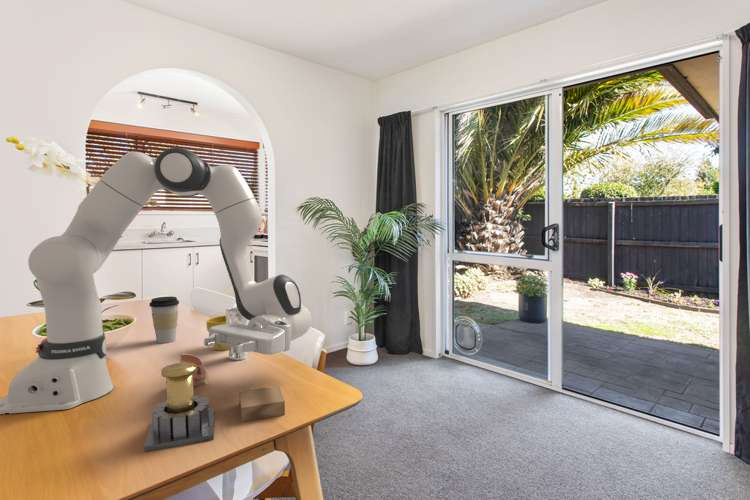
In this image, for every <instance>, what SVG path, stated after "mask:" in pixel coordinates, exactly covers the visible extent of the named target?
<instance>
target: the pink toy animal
mask: <svg viewBox="0 0 750 500" xmlns="http://www.w3.org/2000/svg"><path fill="white" fill-rule="evenodd" d="M183 362H189V363H194V364H196V365H197V370H196V372H194V373H193V387H195V386H196V387H197V386H202V385H208V383H209V372H208V371H206V368H205V366H204V365H203V362H202V360H201V359H200V358H199V357H198V356H196V355H194V354H192V353H191V354H190V353H181V355H180V359H179V362H178V363H183Z"/></svg>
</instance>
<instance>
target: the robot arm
mask: <svg viewBox="0 0 750 500" xmlns="http://www.w3.org/2000/svg"><path fill="white" fill-rule="evenodd" d="M160 190H163V191H165V192H169V193H172V194H174V195H176V196H177V195H178V196H180V197H188V198H189V197H195V196H197V195H202V196H203V197H205V199H206V200H207V201H208V203H209V205H210V206H211V209H212V211H213V213H214V215H215V218H216V220H217V223H218V226H219V233H220V238H219V247H220V252H221V256H222V259H223V261H224V264H225V267H226V271H227V274H228V276H229V279H230V282H231V286H232V288H233V292H234V299H235V304H236V307H237V308H238V311H239V312H240V314H241V315H242V316H243V317H245V318H246V319H248V320H250V321H249V323H248V325H242V324H237V323H229V324H223V325H218V326H213V327H211V328H210V329H209V332H208V337H204V339H203V345H204V346H205V347H209V348H210V347H214V346H213V345H215V343H217V344H222V345H226V346H230V347H233V348H234V350H233V352H235V353H242V352H249V353H250V352H251V353H252V352H253V353H256V354H257V353H258V354H262V355H269V356H270V355H275V354H279V353H281V352H288V351H290V349H291V344H292V343H291V342H293V341H295V340H297V339H299V338H301V337H303V335H305V334H307V333H308V331H309V330H310V328H311V326H312V323H313V318H312V313H311V312H310V310H309V309H308V308H307V307H306V306H305V305H304V304H303V303H302V300H301V298H302V297H301V292H300V289H299V286H298V285H297V284H296V282H295V281H294V280H293V278H291V277H289V276H288V275H285V274H278V275H276V276H273V277H269V278H266V279H265V280H262V281H260V282H257V281H255V279H254V276H253V275H252V271H251V268H250V265H249V262H248V259H247V255H246V254H247V248H248V246H249V243H250V242H251V241H252V239H253V238H254V237H255V235H256V234H257V233H258V232H259V230H260V227H261V225H262V221H263V214H262V211H261V208H260V206H259V204H258V201H257V200H256V198H255V194H254V192H253V191H252V189H251V188H250V186H249V185H248V183H247V181H246V180H245V178H244V177H243V175H242V174H241V173H240V171H239V170H238V169H237V167H235V166H233V165H230V164H220V165H217V166H213V167H211V166H210V164H209V163H207V162H206V161H205V160H204V159H202V158H201V157H199V156H198V155H197V154H195V153H194V152H193V151H190V150H189V149H187V148H183V147H170V148H167V149H165V150H163V151H162V152H161V153H159V154H158V156H157V158H156V159H155V158H152V157H151V156H150V155H148V154H146V153H143V152H140V151H129V152H127V153H125V154H124V155H123V156H122V157H120V158H119V159H118V160H117V161H116V162H114V163H113V164H112V165H111V166H110V167H109V168H108V169H107V170H106V171H105V172H104V174H102V176H101V177H100V179H98V181H97V182H96V183H95V185H93V187H92V189H90V191H89V192H88V193H87V194H86V196H85V197H84V199H83V200H82V201H81V202H80V203H79V205H78V207H77V210H76V213H75V214H74V216H73V218H72V220H71V222H70V223H69V225H68V226H67V227H66V229H65V231H64V232H63V233H62V234H61V235H57V236H51V237H49V238H46V239H44V240H43V241H41V242H40V243H39V244H37V245H36V246H35V247H34V248H33V249H32V250H31V252H30V254H29V256H28V261H27V262H28V268H29V270H30V272H31V274H32V275H33V276H34V277H35V279H36V283H37V287H38V290H39V292H40V297H41V300H42V303H43V307H44V315H45V327H46V337H45V338H44V339H42V341H40V343H39V344H38V345H37V346H36V348H35V353H36V354H38V357H37V358H36V359H34V360H33V361H32V362H30V363H29V364H28V365H26V367H24V368H23V369H22V370H20V371H19V372H17V374H15V376H14V377H12V379H11V381H10V384H9V386H8V391H7V395H5V396H4V397H3V398H1V399H0V415H6V414H5V413H9V414H18V413H19V414H21V413H33V412H34V413H35V412H45V411H47V412H48V411H60V410H69V409H73V408H75V407H77V406H79V405H81V404H83V403H87V402H90V401H92V400H96V399H98V398H101V397H102V396H104V395H106V394H108V393H109V392H112V390H113V389H114V383H113V381H112V379H111V376H110V373H109V369H108V364H107V359H106V358H107V357H106V355H107V339H106V333H104V330H103V315H102V313H103V312H102V302H101V299H100V298H99V295H98V291H97V288H96V283H95V279H94V274H95V273H96V272H98V270H99V269H100V268H101V267H102V266H103V265H104V263H105V261H107V258H108V257H109V256H110V254H111V253H112V252H113V250H114V249H115V246H116V245H117V244H118V242H119V241H120V239H121V237H122V236H123V234H124V232H126V230H127V228H128V227H129V226H130V224H131V223H132V222H133V221H134V219H135V218H136V217H137V216H138V214H139V213H140V212H141V211H142V209H143V208H144V207H145V205H146V203H148V202H149V200H150V199H151V197H153V195H155V194H156V193H157V192H159V191H160Z"/></svg>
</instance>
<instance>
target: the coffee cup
mask: <svg viewBox="0 0 750 500" xmlns="http://www.w3.org/2000/svg"><path fill="white" fill-rule="evenodd" d="M179 304H180V301H179V300H178V298H177V297H176V296H158V297H154V298H152V299H151V302H149V307H150V308H151V317H152V324H153V325H152V326H153V329H154V331H155V339H156V343H158V344H168V343H172V342H175V341H177V340H176V338H177V327H178V317H179V315H178V313H179V310H178V309H179Z"/></svg>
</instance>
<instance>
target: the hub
mask: <svg viewBox="0 0 750 500" xmlns="http://www.w3.org/2000/svg"><path fill="white" fill-rule="evenodd" d="M193 396H194V409H193V410H190V411H187V412H185V413H178V414H169V413H168V407H167V400H165V401H163V402H160V403H159V404H157V405H156V406H154V408H153V409H152V412H151V423H150V425H149V428H148V432H147V435H146V438H145V441H144V444H143V452H144V453H145V452H150V451H157V450H163V449H168V448H174V447H179V446H184V445H190V444H197V443H201V442H206V441H211V440H212V441H213V440H214V439H215V438H214V436H215V408H209V399H207V398H205V397H204V396H202V397H201V396H200V395H193Z"/></svg>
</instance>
